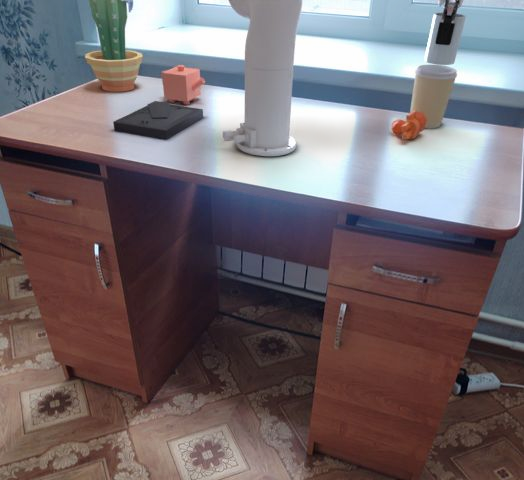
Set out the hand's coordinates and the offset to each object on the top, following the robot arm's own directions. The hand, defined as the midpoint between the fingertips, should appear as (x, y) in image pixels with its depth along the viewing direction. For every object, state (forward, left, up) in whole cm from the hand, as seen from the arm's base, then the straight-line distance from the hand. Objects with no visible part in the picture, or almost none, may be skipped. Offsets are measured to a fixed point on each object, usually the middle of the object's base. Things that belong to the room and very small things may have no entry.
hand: (443, 40), depth 113 cm
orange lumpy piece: (-11, -6, -18) cm, 22 cm away
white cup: (0, 0, -4) cm, 4 cm away
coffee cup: (0, 0, -18) cm, 18 cm away
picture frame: (-60, +23, -18) cm, 67 cm away
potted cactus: (-61, +58, -18) cm, 86 cm away
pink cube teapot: (-48, +39, -18) cm, 64 cm away
